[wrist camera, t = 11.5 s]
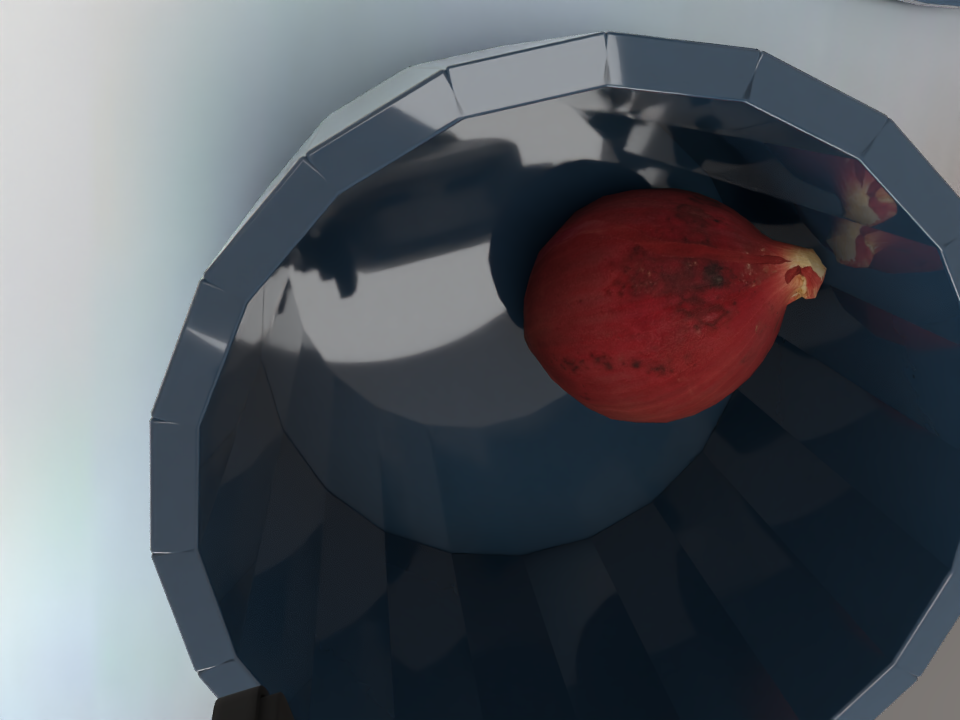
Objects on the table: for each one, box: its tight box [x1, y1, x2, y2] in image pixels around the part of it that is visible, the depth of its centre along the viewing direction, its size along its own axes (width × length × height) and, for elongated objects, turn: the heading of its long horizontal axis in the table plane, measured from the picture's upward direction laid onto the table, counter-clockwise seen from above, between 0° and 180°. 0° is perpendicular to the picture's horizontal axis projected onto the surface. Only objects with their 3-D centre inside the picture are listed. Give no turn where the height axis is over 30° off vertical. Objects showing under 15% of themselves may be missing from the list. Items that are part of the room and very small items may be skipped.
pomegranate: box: [523, 188, 827, 423], centre depth 22 cm, size 6×6×8 cm
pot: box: [149, 31, 960, 720], centre depth 21 cm, size 16×16×11 cm
